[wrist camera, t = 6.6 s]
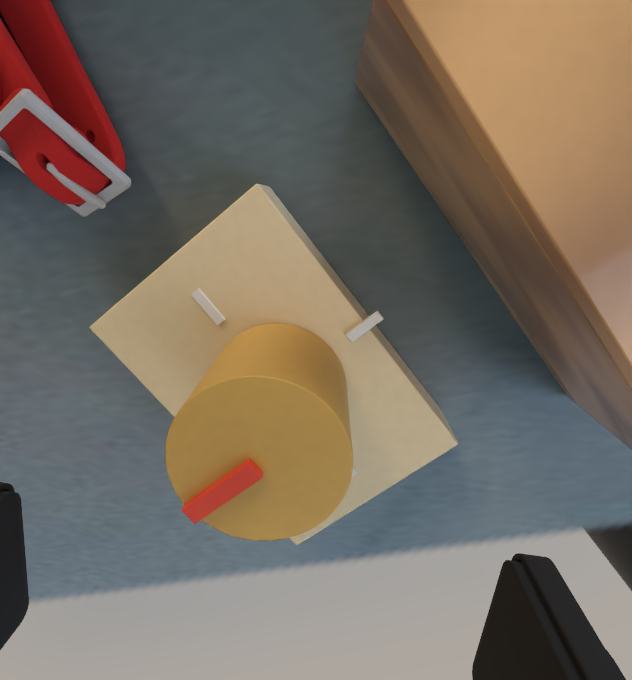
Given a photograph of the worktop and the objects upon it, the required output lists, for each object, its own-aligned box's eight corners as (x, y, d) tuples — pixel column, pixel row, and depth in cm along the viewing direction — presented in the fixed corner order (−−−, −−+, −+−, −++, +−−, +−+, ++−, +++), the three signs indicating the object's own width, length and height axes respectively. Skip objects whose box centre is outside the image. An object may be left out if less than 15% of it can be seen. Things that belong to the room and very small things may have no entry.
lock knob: (288, 294, 16) (269, 340, 11) (373, 400, 17) (392, 486, 12) (183, 376, 17) (120, 453, 12) (270, 470, 18) (246, 578, 13)
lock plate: (452, 402, 20) (474, 438, 17) (291, 507, 22) (284, 556, 19) (280, 174, 17) (270, 170, 14) (114, 316, 19) (74, 338, 16)
